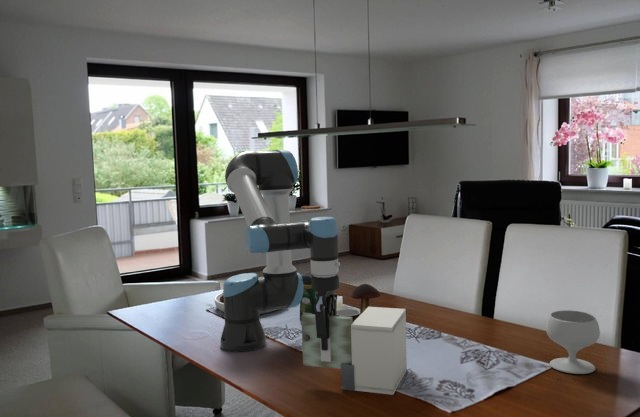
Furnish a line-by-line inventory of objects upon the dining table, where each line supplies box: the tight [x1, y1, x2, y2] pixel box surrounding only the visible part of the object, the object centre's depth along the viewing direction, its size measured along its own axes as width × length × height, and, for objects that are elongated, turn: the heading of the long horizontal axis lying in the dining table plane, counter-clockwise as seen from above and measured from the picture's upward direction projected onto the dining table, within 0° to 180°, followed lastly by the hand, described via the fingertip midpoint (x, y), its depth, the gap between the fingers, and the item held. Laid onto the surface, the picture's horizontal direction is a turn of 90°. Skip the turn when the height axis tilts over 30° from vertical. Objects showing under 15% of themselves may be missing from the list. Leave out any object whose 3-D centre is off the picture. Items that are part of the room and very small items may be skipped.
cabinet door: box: [300, 314, 353, 370], centre depth 157 cm, size 14×3×14 cm, turn 70°
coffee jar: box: [299, 271, 318, 322], centre depth 217 cm, size 10×8×19 cm
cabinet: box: [351, 306, 408, 396], centre depth 160 cm, size 11×18×18 cm, turn 160°
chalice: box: [545, 309, 601, 375], centre depth 164 cm, size 14×14×15 cm
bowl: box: [214, 292, 276, 315], centre depth 241 cm, size 30×30×8 cm
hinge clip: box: [340, 363, 356, 392], centre depth 156 cm, size 4×6×9 cm
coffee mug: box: [337, 308, 360, 322], centre depth 194 cm, size 12×9×10 cm
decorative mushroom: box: [350, 283, 381, 315], centre depth 211 cm, size 11×11×15 cm
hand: (327, 359), depth 157 cm, fingers closed on cabinet door, 2 cm apart
